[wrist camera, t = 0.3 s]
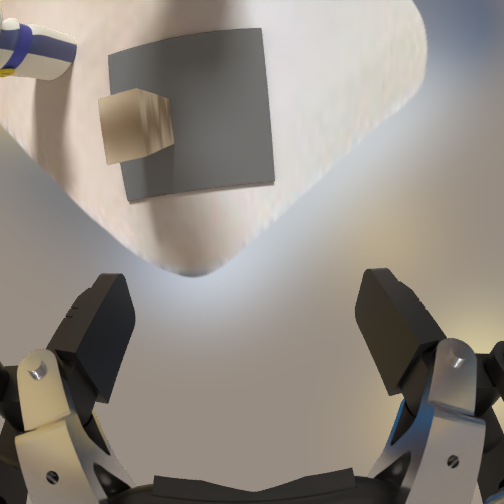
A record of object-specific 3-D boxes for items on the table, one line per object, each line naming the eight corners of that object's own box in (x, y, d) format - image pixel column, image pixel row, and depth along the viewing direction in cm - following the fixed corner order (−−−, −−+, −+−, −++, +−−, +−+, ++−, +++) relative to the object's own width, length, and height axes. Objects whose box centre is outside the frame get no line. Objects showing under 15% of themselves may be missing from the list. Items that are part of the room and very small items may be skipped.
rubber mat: (109, 56, 26) (108, 55, 25) (260, 29, 27) (261, 27, 26) (129, 199, 35) (127, 201, 35) (274, 180, 36) (274, 181, 36)
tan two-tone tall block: (140, 104, 29) (96, 99, 18) (169, 98, 29) (136, 88, 18) (146, 148, 32) (106, 165, 21) (174, 143, 32) (145, 156, 21)
